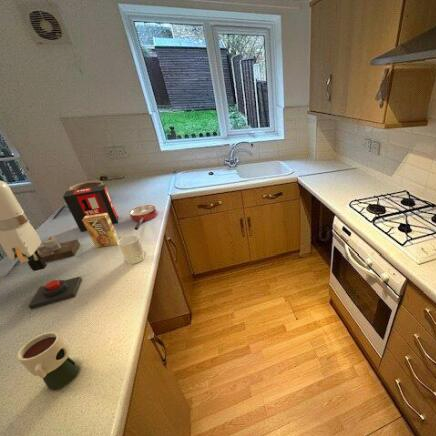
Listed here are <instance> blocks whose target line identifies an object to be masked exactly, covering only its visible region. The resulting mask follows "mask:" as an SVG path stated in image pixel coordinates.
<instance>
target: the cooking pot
mask: <svg viewBox="0 0 436 436" xmlns="http://www.w3.org/2000/svg"><path fill="white" fill-rule="evenodd" d="M103 183H104V182H103V181H102V180H90V181H84V182H79V183H76V184H74V185H71V186H69V188H68V191H71V190H77V189H83V188H89V187H95V186H101V185H104V184H103ZM106 189H107V187H106ZM107 192H108V193H109V191H108V189H107Z"/></svg>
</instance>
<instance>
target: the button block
mask: <svg viewBox="0 0 436 436" xmlns="http://www.w3.org/2000/svg"><path fill="white" fill-rule="evenodd" d="M57 280H58V281H59V282H60V284H61V286H59V287H58V288H56V289H54V290H51V291H48V290H47V288H46V287H45V285H42V286H39V288H38V289H37V291H36V293H35V294H34V296H33V298H32V299H31V301H30V303H29V305H28V307H29V309H30V310H34V309H38V308H41V307H46V306H48V305H51V304H55V303H59V302H62V301H66V300H69V299H73V298H76V297H77V294H78V291H79V289H80V286H81V284H82V281H83V278H82V276H77V277H73V278H69V279H57Z"/></svg>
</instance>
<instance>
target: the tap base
mask: <svg viewBox="0 0 436 436" xmlns="http://www.w3.org/2000/svg"><path fill="white" fill-rule="evenodd" d="M59 243H60V245H61V248H60V249H59V250H56V251H53V252H49V251H48V249H47V248H46V246H45V245H44V246H39V251H40V253H41V256H40V257H42V258H43V260H44V262H45V263H49V262H54V261H58V260H62V259H67V258H70V257H74V256H75V255H76V254H77V252H78V250H79V248H80V246H81V243H80V242H79V240H78V239H73V240H69V241H68V240H67V241H64V242H59Z"/></svg>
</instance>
